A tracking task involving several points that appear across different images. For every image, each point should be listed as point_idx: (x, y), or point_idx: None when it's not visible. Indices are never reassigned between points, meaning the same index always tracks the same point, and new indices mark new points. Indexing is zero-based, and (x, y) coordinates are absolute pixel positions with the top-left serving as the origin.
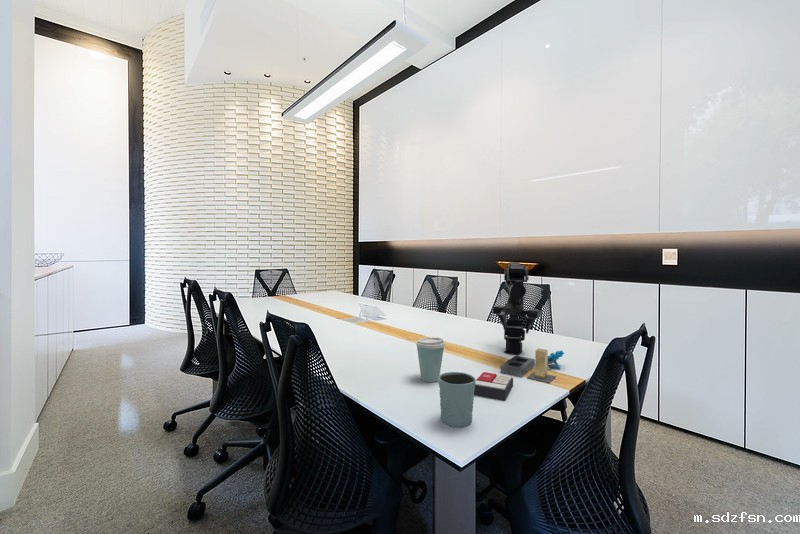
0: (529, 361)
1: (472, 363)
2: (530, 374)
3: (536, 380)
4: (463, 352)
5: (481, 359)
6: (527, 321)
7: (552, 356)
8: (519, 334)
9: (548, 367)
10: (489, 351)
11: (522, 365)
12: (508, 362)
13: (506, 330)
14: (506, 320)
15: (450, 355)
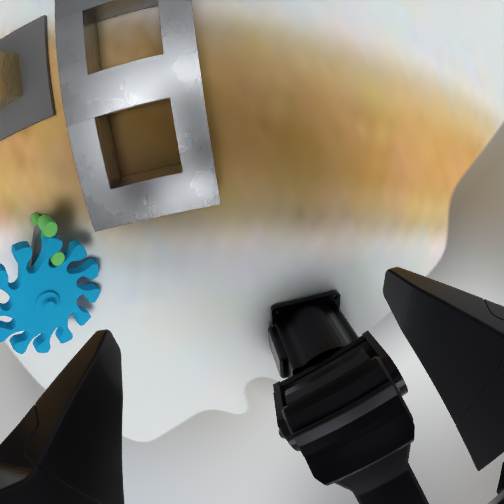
0: (85, 157)
1: (378, 22)
2: (45, 63)
3: (7, 36)
4: (465, 161)
5: (380, 108)
6: (16, 472)
7: (16, 282)
8: (295, 394)
9: (33, 221)
10: (394, 256)
11: (76, 49)
12: (172, 25)
13: (384, 367)
14: (445, 394)
15: (478, 89)
